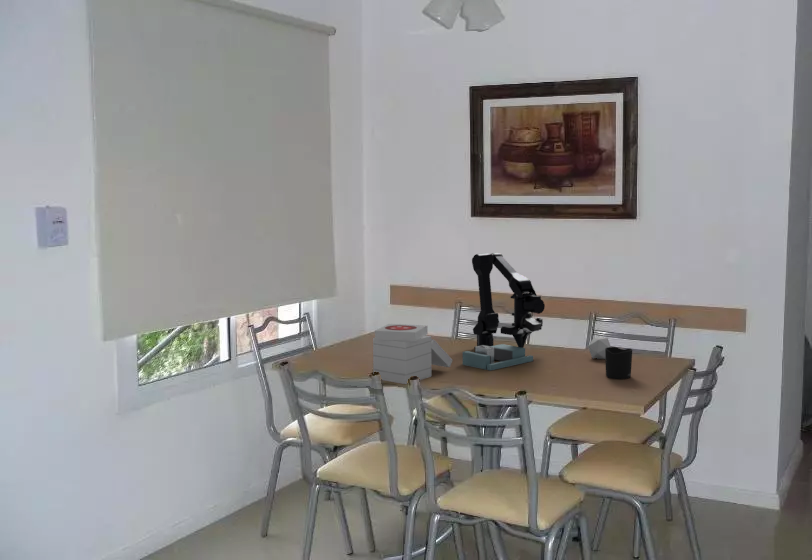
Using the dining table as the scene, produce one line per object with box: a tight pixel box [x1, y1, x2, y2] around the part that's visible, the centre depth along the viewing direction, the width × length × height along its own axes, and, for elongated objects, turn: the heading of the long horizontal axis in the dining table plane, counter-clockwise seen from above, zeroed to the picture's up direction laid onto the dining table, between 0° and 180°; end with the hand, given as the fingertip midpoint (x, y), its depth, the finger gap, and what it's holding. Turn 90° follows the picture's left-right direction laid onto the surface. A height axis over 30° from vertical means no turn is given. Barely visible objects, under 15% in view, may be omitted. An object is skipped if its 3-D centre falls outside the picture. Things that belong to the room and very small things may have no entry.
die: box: [587, 336, 612, 360], centre depth 353 cm, size 8×9×10 cm
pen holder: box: [604, 346, 633, 380], centre depth 321 cm, size 9×9×10 cm
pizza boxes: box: [372, 323, 454, 385], centre depth 327 cm, size 19×30×18 cm, turn 141°
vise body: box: [462, 350, 534, 371], centre depth 346 cm, size 14×24×5 cm, turn 132°
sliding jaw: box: [490, 343, 526, 362], centre depth 351 cm, size 12×8×5 cm, turn 42°
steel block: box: [474, 345, 495, 364], centre depth 343 cm, size 6×4×7 cm, turn 42°
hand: (521, 349), depth 357 cm, fingers closed
